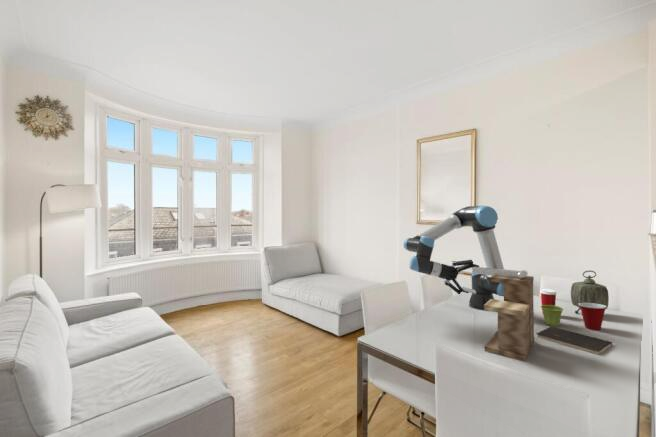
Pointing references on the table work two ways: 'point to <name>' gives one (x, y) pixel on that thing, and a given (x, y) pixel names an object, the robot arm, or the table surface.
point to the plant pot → (552, 314)
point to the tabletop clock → (589, 292)
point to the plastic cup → (592, 315)
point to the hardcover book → (574, 340)
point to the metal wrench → (500, 272)
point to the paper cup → (548, 297)
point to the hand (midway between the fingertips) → (480, 281)
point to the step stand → (513, 318)
